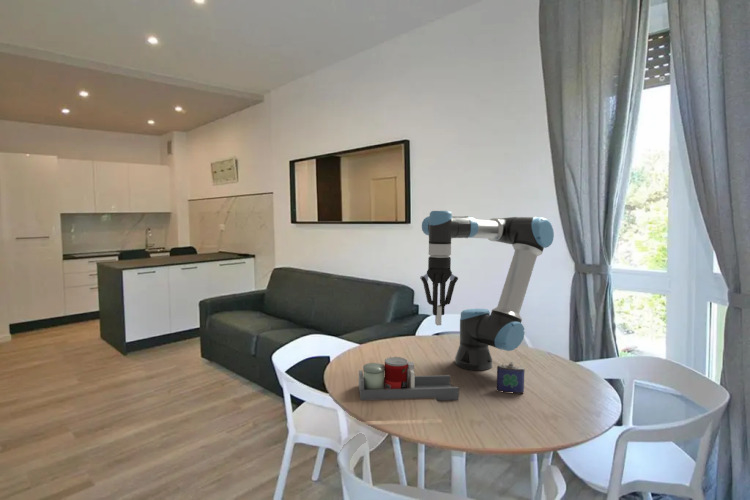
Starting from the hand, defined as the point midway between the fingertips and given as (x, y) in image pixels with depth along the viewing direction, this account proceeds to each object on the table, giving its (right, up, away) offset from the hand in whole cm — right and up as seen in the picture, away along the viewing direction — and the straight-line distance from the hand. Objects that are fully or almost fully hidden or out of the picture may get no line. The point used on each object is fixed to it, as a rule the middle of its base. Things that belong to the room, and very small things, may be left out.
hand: (438, 324), depth 147 cm
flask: (+26, -25, +4) cm, 36 cm away
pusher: (-10, -23, +1) cm, 25 cm away
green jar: (-22, -23, 0) cm, 32 cm away
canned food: (-15, -24, +1) cm, 28 cm away
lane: (-11, -24, +1) cm, 27 cm away
